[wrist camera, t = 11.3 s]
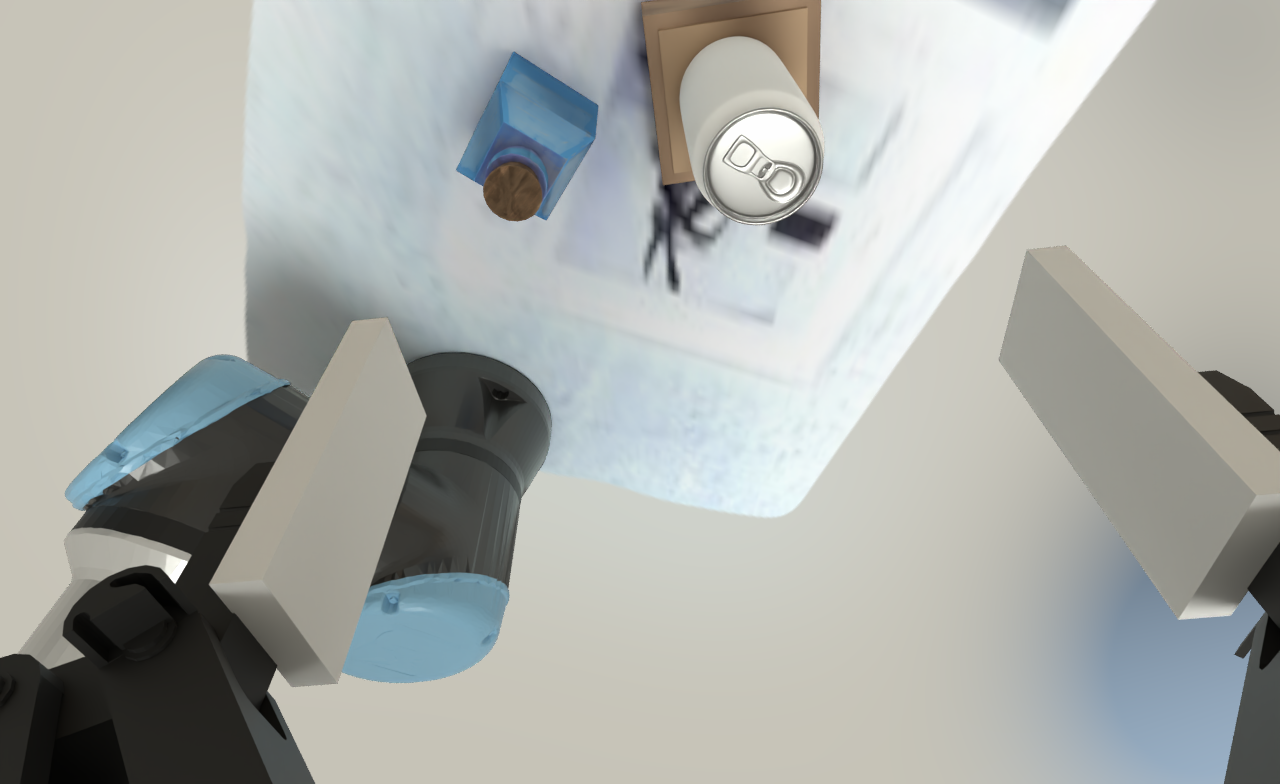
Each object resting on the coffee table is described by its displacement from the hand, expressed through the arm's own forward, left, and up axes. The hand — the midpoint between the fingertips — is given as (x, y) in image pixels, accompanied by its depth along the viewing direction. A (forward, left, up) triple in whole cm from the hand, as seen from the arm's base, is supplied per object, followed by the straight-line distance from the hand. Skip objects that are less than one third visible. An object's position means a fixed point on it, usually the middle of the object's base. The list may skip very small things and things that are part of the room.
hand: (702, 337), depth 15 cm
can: (+4, -5, -32) cm, 33 cm away
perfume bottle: (-9, -6, -36) cm, 38 cm away
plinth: (+4, -5, -36) cm, 37 cm away
